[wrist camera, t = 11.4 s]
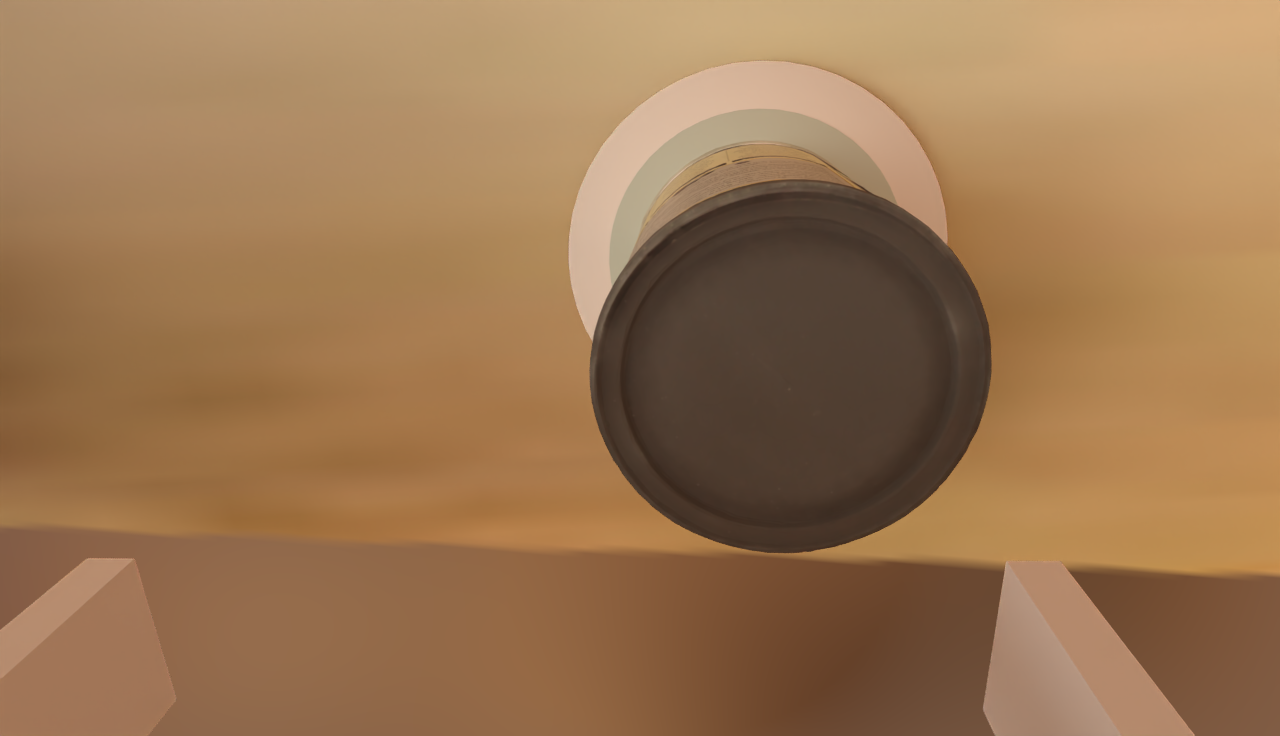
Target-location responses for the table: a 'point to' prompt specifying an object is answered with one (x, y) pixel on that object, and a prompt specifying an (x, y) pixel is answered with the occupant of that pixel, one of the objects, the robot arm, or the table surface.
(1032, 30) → the table surface
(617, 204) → the plate
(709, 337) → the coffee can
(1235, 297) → the table surface
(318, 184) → the table surface
